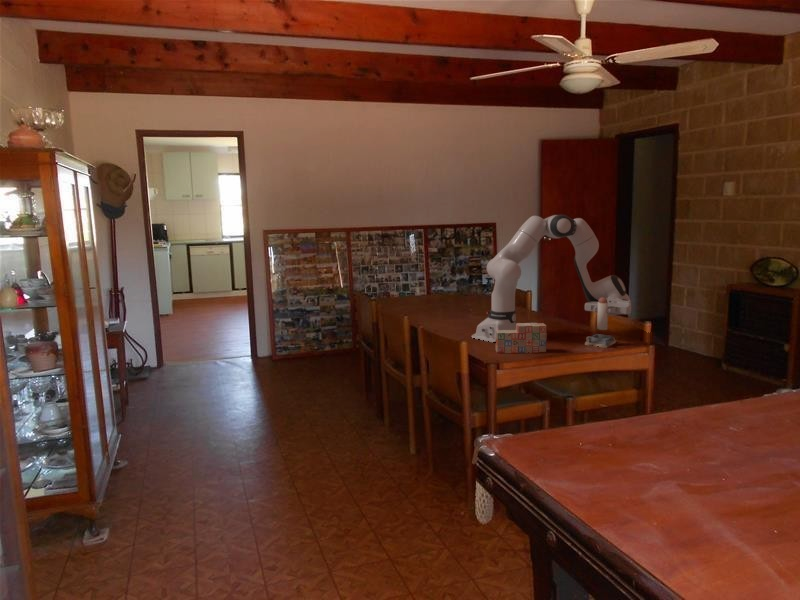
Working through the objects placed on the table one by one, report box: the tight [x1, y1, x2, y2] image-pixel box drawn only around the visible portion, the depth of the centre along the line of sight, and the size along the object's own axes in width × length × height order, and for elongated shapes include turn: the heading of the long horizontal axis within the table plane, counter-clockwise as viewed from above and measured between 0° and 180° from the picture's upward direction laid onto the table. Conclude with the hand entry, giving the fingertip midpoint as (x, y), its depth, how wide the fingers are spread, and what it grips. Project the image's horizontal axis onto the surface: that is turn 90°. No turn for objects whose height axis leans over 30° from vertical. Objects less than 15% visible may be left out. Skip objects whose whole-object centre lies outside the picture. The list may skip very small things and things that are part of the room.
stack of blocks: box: [495, 322, 548, 354], centre depth 261 cm, size 21×6×12 cm, turn 88°
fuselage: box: [596, 297, 609, 331], centre depth 268 cm, size 4×4×14 cm
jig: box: [584, 333, 617, 349], centre depth 272 cm, size 10×12×4 cm
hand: (601, 310), depth 267 cm, fingers closed on fuselage, 4 cm apart
